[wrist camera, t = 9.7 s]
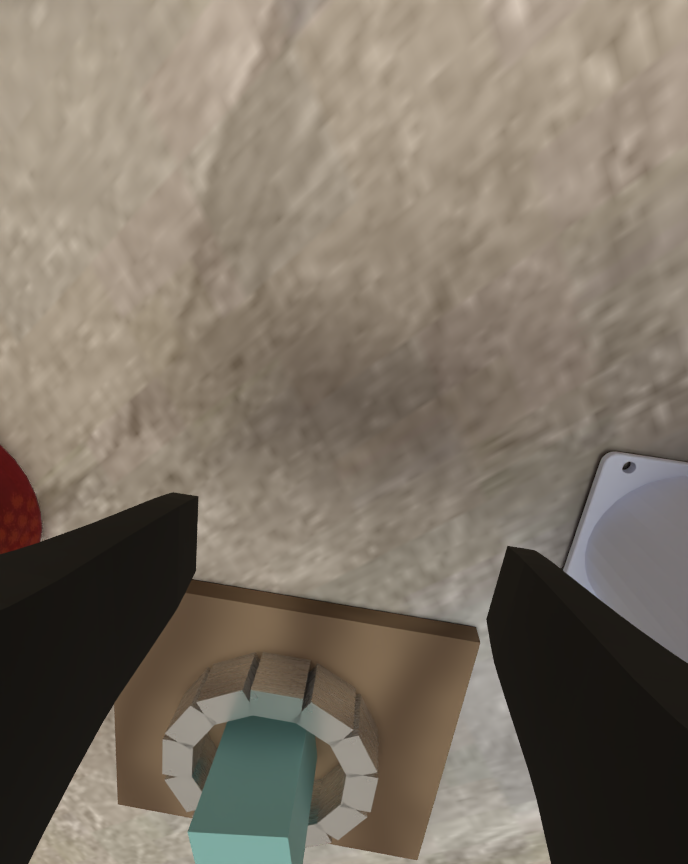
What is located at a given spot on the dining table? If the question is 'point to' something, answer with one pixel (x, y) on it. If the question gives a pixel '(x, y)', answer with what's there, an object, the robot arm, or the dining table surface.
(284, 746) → the teal peg
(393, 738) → the walnut board
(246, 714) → the steel collar
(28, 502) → the canned food
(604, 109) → the dining table surface
